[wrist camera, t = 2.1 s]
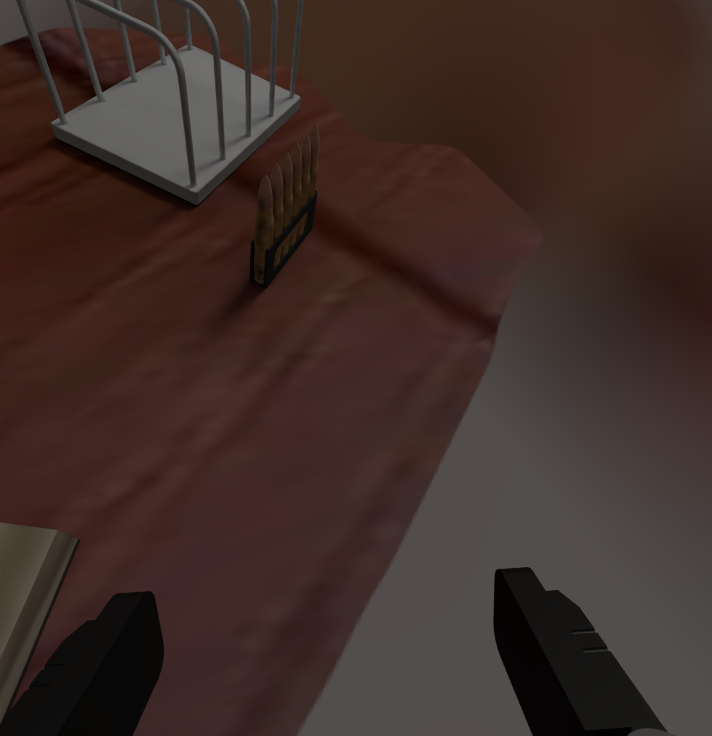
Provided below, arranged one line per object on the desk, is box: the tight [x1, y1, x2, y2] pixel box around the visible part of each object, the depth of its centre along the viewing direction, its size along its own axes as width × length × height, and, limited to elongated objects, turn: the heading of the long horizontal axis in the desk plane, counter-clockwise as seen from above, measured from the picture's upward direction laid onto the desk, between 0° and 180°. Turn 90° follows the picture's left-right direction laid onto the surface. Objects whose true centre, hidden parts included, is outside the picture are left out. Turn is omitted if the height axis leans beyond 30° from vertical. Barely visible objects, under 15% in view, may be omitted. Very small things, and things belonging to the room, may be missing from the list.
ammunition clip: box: [250, 125, 319, 289], centre depth 40 cm, size 11×2×12 cm, turn 157°
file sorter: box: [16, 0, 304, 205], centre depth 46 cm, size 25×17×16 cm
